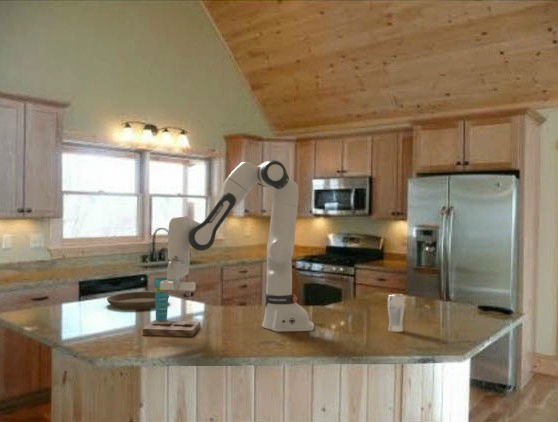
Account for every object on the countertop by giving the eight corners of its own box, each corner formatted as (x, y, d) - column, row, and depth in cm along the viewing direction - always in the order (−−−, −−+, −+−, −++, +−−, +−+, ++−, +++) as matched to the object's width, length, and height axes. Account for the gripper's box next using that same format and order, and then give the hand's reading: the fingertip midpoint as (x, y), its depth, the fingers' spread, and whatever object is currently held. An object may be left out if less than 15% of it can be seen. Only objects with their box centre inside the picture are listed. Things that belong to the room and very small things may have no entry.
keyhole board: (200, 327, 201) (200, 321, 201) (192, 336, 188) (192, 330, 187) (153, 326, 203) (153, 320, 203) (142, 334, 189) (142, 328, 189)
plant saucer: (97, 303, 247) (97, 295, 247) (151, 296, 268) (151, 288, 268) (123, 314, 225) (123, 304, 224) (180, 305, 246) (180, 297, 246)
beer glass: (394, 333, 197) (395, 297, 197) (383, 329, 203) (384, 294, 203) (407, 331, 200) (408, 296, 200) (396, 327, 207) (396, 293, 207)
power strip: (195, 294, 197) (195, 281, 197) (193, 296, 194) (193, 282, 194) (162, 293, 198) (162, 280, 198) (159, 294, 195) (160, 281, 195)
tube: (155, 322, 210) (155, 278, 209) (151, 319, 214) (152, 277, 213) (171, 320, 214) (172, 277, 214) (167, 317, 218) (168, 276, 218)
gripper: (179, 257, 185) (178, 293, 185) (192, 253, 205) (191, 284, 205) (163, 257, 185) (162, 292, 185) (177, 252, 206) (177, 284, 206)
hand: (177, 288), depth 196 cm, fingers closed on power strip, 3 cm apart
